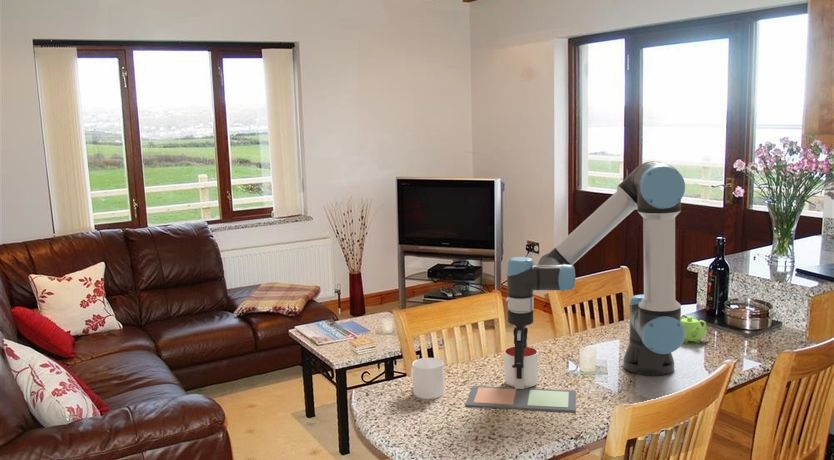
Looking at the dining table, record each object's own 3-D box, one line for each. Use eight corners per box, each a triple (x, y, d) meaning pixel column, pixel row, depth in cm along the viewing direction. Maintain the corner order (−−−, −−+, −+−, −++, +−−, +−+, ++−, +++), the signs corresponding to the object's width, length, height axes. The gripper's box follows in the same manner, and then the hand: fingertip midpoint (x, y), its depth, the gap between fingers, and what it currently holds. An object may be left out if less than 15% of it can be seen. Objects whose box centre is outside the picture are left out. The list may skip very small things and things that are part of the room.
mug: (450, 394, 212) (449, 364, 211) (423, 402, 208) (422, 370, 206) (429, 382, 222) (427, 353, 221) (403, 388, 218) (401, 359, 216)
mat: (575, 392, 210) (575, 390, 210) (575, 412, 197) (575, 409, 197) (472, 387, 217) (472, 385, 217) (465, 406, 204) (465, 404, 204)
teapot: (712, 339, 251) (713, 316, 250) (697, 348, 243) (697, 323, 242) (681, 333, 259) (682, 310, 258) (665, 341, 251) (666, 317, 250)
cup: (537, 390, 213) (537, 357, 211) (503, 388, 215) (502, 356, 213) (538, 377, 223) (538, 346, 221) (506, 376, 225) (505, 345, 223)
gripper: (511, 299, 227) (511, 367, 230) (503, 320, 204) (504, 395, 208) (535, 300, 225) (535, 368, 229) (530, 321, 203) (531, 396, 206)
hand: (521, 381), depth 218 cm, fingers open, 11 cm apart
